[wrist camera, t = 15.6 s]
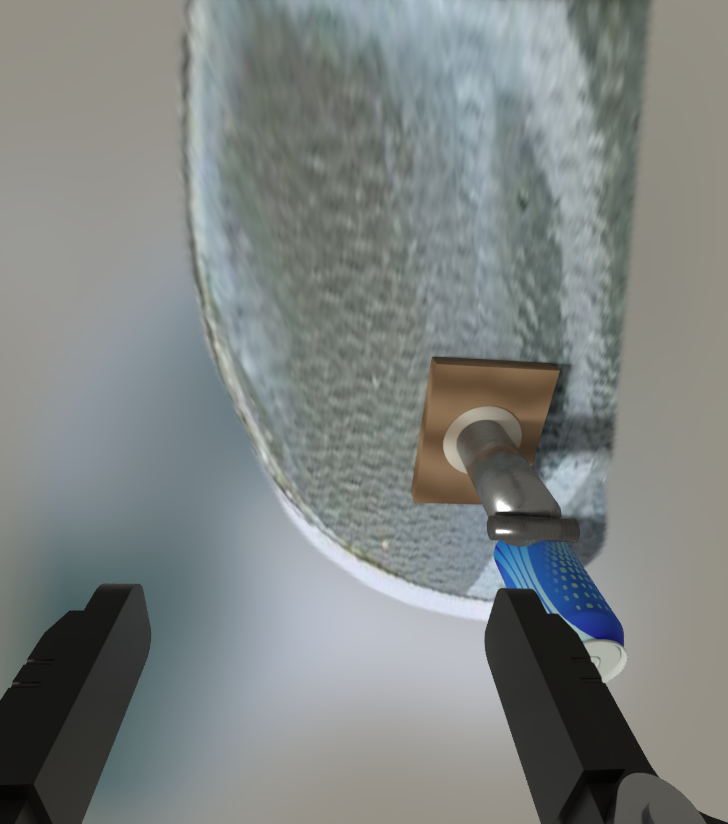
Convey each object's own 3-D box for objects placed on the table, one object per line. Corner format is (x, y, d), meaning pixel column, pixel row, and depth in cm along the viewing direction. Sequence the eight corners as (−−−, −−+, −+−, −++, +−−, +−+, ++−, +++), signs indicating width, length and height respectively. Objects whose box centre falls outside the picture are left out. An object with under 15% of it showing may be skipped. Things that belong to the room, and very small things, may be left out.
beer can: (476, 549, 55) (526, 677, 40) (523, 503, 52) (595, 622, 37) (524, 575, 57) (588, 703, 43) (572, 532, 54) (657, 654, 40)
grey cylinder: (455, 418, 43) (503, 507, 31) (518, 421, 44) (589, 510, 32) (446, 462, 46) (487, 562, 33) (506, 465, 46) (568, 564, 34)
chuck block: (432, 356, 43) (436, 364, 41) (550, 363, 44) (560, 371, 42) (411, 491, 50) (414, 503, 48) (513, 494, 51) (520, 506, 49)
